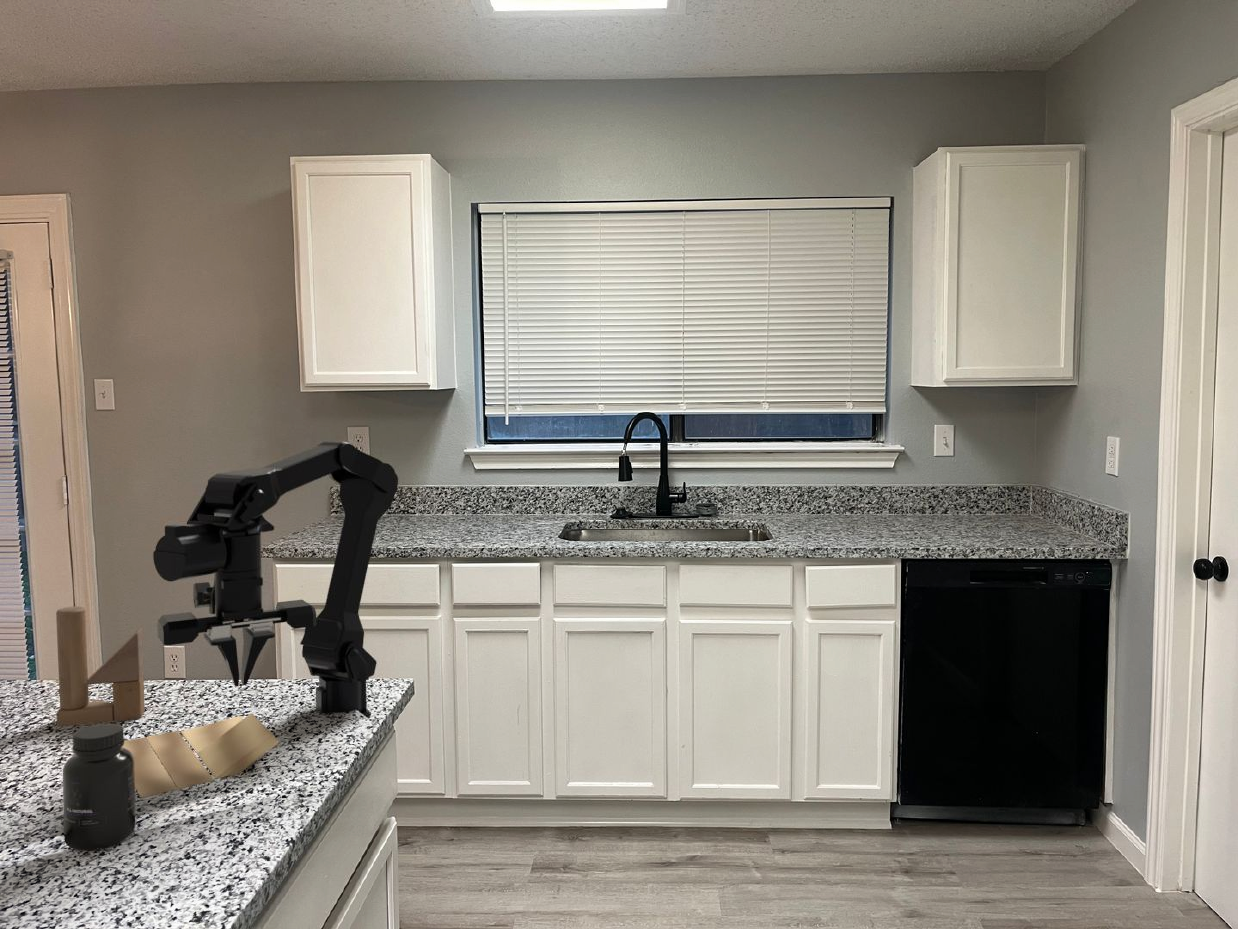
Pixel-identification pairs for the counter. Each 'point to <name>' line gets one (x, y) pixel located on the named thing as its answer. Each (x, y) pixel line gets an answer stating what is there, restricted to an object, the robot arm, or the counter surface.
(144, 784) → the laid floor row
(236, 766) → the oak plank
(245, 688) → the counter surface
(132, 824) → the supplement bottle
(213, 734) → the oak plank
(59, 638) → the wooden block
